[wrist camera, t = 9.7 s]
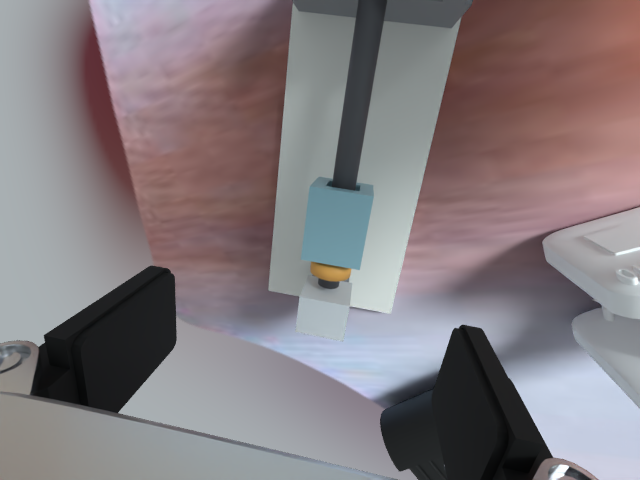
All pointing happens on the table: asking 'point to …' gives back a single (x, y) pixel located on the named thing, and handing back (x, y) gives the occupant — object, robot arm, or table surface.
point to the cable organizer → (605, 291)
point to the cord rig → (357, 140)
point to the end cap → (414, 437)
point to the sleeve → (336, 223)
